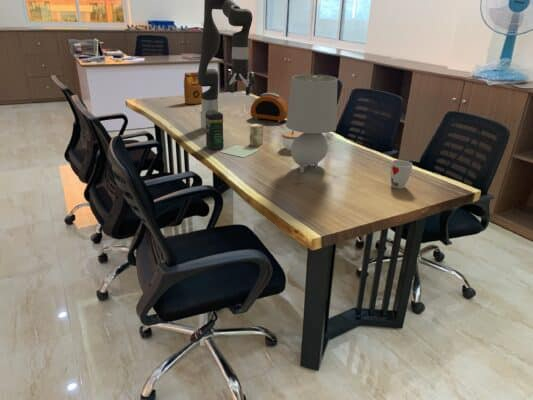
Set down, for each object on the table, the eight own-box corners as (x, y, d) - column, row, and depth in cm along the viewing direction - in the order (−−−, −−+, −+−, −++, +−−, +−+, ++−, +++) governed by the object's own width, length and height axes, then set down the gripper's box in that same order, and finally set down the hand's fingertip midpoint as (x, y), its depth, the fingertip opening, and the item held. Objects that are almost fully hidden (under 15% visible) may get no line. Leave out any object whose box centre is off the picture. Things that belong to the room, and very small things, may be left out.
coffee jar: (225, 149, 209) (225, 112, 201) (210, 151, 206) (209, 113, 198) (219, 143, 217) (218, 108, 209) (204, 145, 214) (203, 109, 206)
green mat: (220, 152, 204) (220, 151, 204) (236, 145, 215) (236, 144, 215) (243, 157, 198) (243, 157, 198) (259, 150, 209) (259, 149, 209)
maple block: (249, 144, 218) (249, 125, 213) (254, 142, 221) (255, 123, 217) (257, 146, 215) (258, 127, 211) (262, 143, 219) (263, 125, 215)
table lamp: (318, 181, 174) (326, 83, 157) (273, 170, 184) (277, 77, 167) (339, 166, 191) (349, 76, 175) (298, 156, 202) (303, 71, 185)
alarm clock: (249, 119, 266) (250, 92, 259) (255, 116, 274) (256, 90, 267) (284, 123, 259) (285, 96, 252) (289, 120, 266) (290, 93, 259)
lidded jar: (285, 152, 207) (286, 134, 203) (278, 146, 216) (279, 128, 212) (305, 151, 209) (306, 133, 206) (298, 145, 219) (299, 127, 215)
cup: (385, 182, 175) (388, 159, 171) (403, 182, 176) (408, 159, 171) (392, 190, 168) (396, 166, 163) (411, 190, 168) (416, 166, 164)
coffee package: (204, 104, 302) (203, 72, 293) (188, 105, 296) (186, 73, 287) (199, 101, 310) (198, 70, 300) (183, 102, 304) (181, 71, 295)
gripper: (222, 56, 188) (223, 93, 195) (248, 59, 182) (248, 97, 189) (232, 55, 194) (232, 90, 201) (258, 58, 188) (257, 94, 194)
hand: (240, 93), depth 195 cm, fingers open, 8 cm apart
